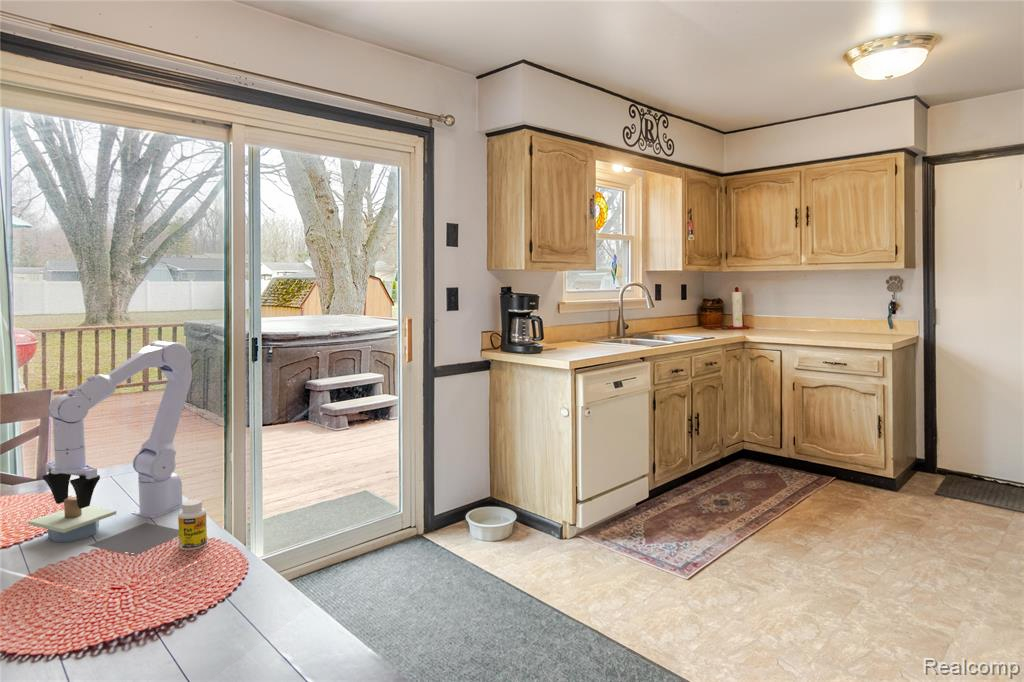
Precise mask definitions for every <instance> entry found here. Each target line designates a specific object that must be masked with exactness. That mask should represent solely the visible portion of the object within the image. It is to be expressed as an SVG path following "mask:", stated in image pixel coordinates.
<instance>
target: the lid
mask: <svg viewBox="0 0 1024 682" xmlns="http://www.w3.org/2000/svg"><path fill="white" fill-rule="evenodd" d="M63 508H64V509H61V510H58V511H56V512H52V513H48V514H46V515H43V516H40V517H37V518H33V519H29V520H28V522H27V523H28V524H27V525H28V526H33V527H38V528H40V529H42V528H43V529H46V530H48V529H49V530H54V531H58V532H62V533H65V532H68V531H71V530H73V529H76V528H79V527H82V526H85V525H87V524H90V523H93V522H96V521H99V522H100V521H101V520H104V519H107V518H110V517H113V516H115V515H117V510H113V509H109V508H104V507H99V506H96V505H91V504H90V506H88V507H85V508H82V509H80V508H79V507H78V504H77V498H76V496H71V497H68V498H67V499H65V500H64V502H63Z"/></svg>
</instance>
